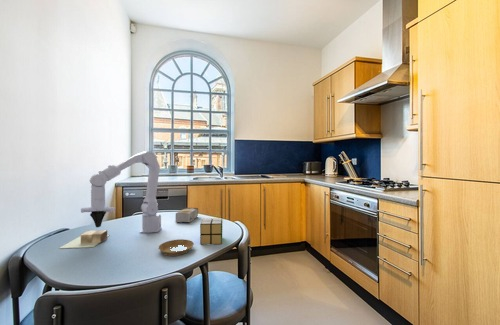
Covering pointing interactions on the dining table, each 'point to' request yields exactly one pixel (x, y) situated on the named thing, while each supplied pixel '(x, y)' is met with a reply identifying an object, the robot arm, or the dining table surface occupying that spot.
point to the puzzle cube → (211, 231)
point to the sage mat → (78, 244)
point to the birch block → (94, 236)
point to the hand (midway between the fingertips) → (98, 226)
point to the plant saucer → (174, 243)
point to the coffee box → (186, 215)
